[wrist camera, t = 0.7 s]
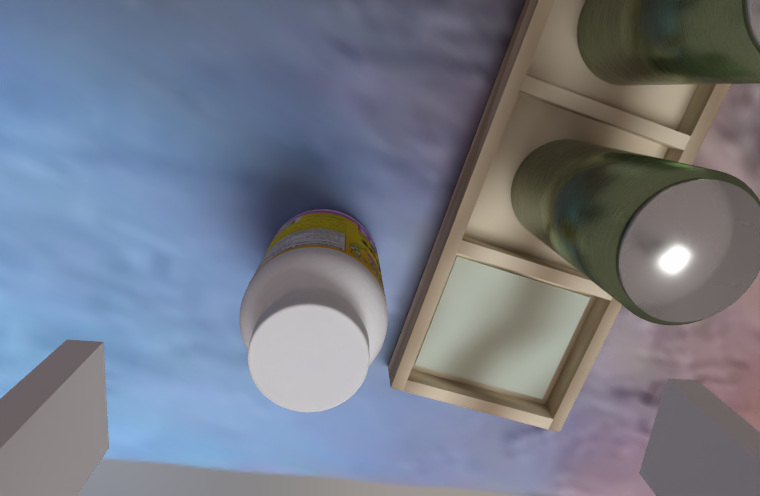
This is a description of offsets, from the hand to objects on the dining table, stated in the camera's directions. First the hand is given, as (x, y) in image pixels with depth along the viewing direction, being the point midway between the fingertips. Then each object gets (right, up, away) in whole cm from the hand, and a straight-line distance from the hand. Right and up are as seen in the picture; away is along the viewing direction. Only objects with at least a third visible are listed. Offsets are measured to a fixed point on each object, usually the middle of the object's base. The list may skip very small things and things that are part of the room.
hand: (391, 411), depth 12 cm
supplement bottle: (-4, +3, +20) cm, 21 cm away
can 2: (+10, +7, +18) cm, 22 cm away
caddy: (+10, +7, +19) cm, 23 cm away
